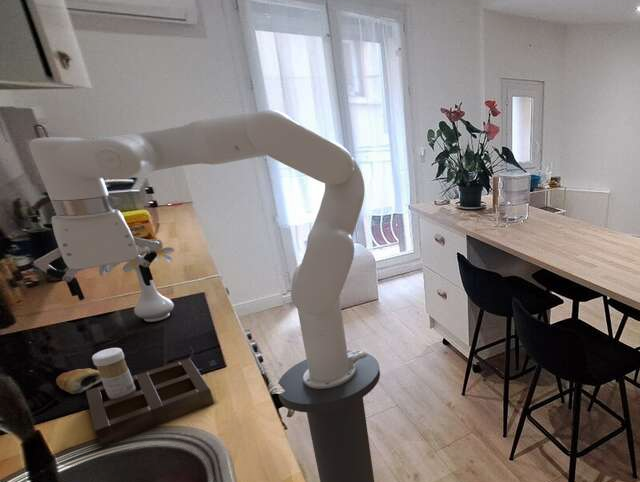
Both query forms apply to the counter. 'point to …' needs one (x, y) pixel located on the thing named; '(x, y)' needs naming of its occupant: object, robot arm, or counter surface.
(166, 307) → the flower vase
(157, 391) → the compartment tray
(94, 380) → the pastry
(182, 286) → the counter surface
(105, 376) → the sprinkles bottle
